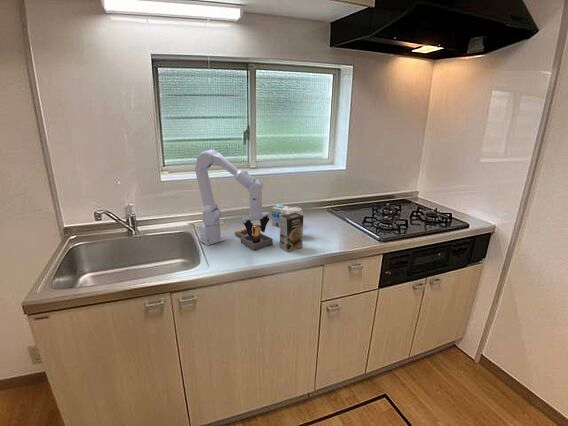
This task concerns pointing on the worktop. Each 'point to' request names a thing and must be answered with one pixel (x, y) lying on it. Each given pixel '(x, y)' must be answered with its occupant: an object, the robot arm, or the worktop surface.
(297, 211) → the supplement can
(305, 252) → the worktop surface
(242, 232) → the brown square shallow dish
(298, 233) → the coffee box
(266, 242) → the tray
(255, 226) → the cell
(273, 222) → the light bulb box
